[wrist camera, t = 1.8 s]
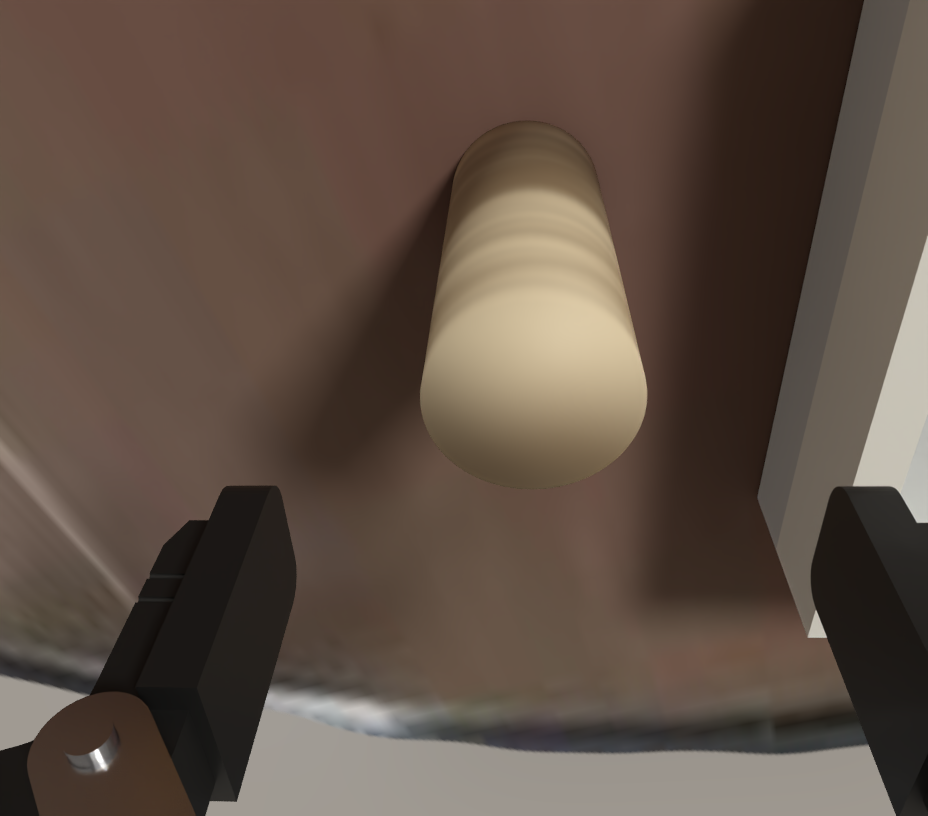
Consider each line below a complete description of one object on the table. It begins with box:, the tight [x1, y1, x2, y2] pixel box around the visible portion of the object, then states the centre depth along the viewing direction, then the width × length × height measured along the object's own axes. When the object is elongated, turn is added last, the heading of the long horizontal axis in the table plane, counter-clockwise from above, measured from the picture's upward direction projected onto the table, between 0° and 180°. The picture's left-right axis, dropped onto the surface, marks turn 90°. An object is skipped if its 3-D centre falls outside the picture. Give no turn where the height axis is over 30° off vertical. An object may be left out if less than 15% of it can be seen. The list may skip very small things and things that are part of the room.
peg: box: [420, 121, 647, 489], centre depth 19 cm, size 4×4×10 cm
